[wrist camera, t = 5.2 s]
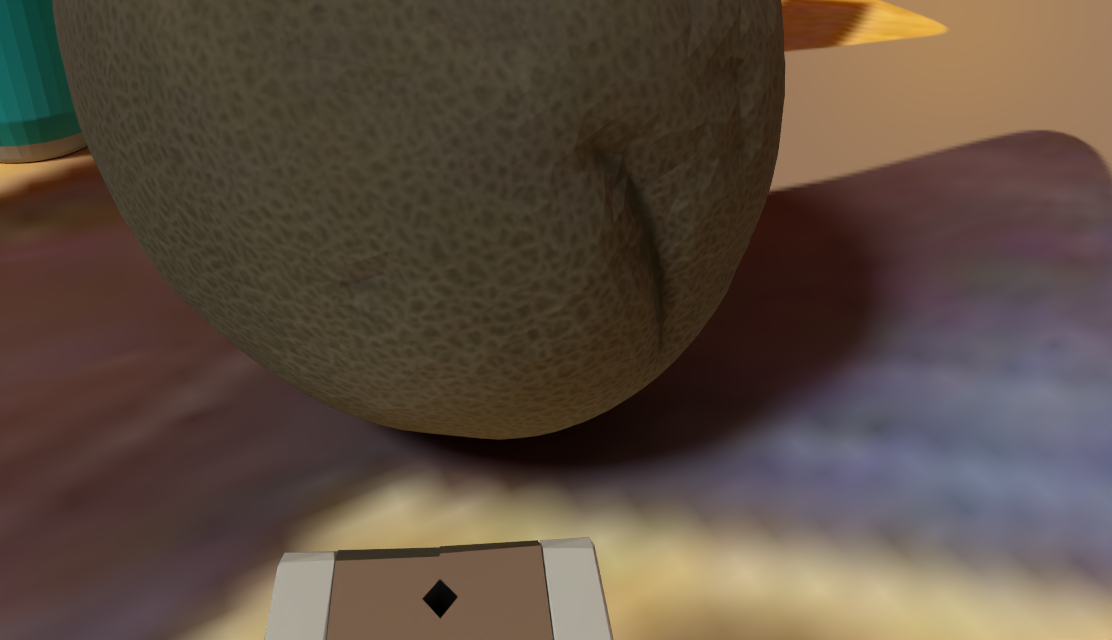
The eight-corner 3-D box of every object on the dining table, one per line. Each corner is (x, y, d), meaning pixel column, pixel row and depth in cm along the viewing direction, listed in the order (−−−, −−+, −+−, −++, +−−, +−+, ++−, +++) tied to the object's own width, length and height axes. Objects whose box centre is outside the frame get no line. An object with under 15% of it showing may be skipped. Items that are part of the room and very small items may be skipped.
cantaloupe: (692, 256, 30) (770, -320, 22) (772, 616, 18) (1015, -384, 10) (242, 236, 29) (154, -351, 21) (13, 583, 17) (-380, -457, 9)
